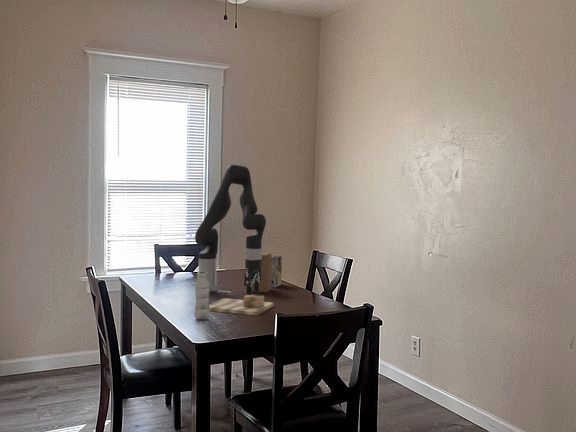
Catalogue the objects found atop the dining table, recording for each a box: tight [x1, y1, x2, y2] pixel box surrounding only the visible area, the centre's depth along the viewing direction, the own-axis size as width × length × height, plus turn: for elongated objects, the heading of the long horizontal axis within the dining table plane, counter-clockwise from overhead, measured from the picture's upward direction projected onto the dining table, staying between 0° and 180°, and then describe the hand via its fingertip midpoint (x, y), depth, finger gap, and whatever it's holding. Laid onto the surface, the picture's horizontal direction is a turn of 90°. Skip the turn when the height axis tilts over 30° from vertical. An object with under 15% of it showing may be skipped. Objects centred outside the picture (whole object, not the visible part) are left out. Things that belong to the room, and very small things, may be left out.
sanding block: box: [243, 294, 265, 308], centre depth 267 cm, size 8×5×4 cm, turn 70°
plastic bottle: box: [193, 271, 211, 321], centre depth 247 cm, size 6×7×20 cm
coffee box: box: [271, 255, 283, 288], centre depth 323 cm, size 9×6×16 cm
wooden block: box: [250, 251, 273, 294], centre depth 308 cm, size 10×10×20 cm
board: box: [209, 297, 274, 316], centre depth 269 cm, size 26×20×2 cm
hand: (252, 293), depth 266 cm, fingers open, 8 cm apart
